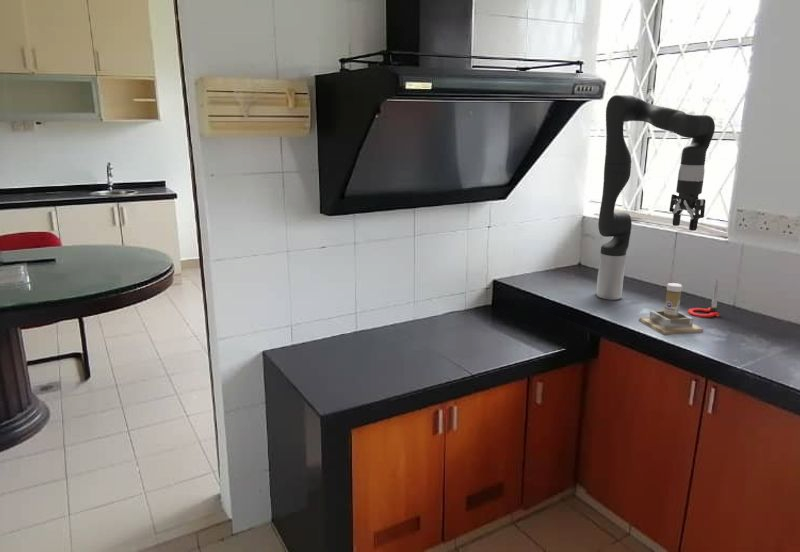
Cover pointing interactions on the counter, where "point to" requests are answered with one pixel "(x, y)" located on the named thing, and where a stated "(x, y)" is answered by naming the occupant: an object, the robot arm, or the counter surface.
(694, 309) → the tow hook
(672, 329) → the keeper
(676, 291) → the sprinkles bottle
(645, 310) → the counter surface
